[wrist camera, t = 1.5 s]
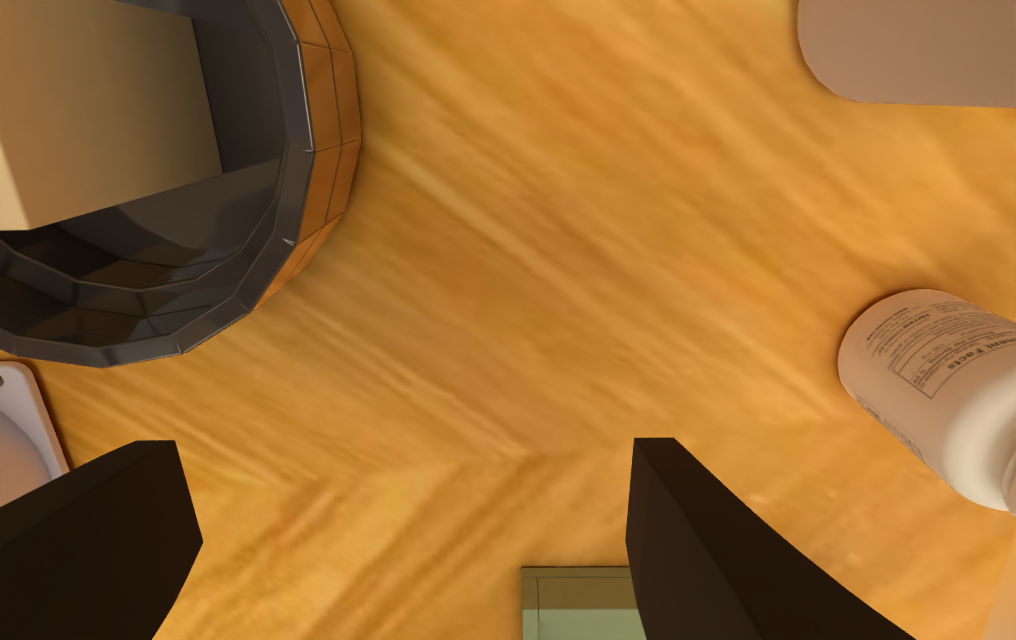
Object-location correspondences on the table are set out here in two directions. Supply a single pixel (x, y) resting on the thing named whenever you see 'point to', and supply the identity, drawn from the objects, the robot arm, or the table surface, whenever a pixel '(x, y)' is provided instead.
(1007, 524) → the table surface
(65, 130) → the block
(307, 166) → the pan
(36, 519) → the robot arm
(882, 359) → the pill bottle
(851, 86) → the beverage can
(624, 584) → the tray
